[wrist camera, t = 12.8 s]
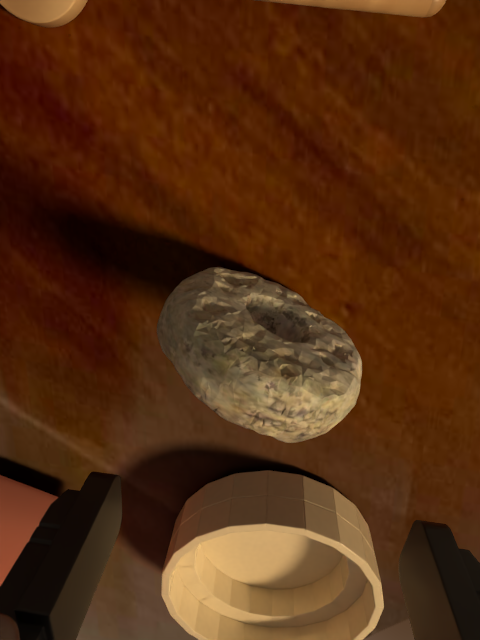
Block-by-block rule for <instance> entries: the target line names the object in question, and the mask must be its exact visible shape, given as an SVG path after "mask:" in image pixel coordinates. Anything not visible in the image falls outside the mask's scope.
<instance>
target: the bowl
mask: <svg viewBox="0 0 480 640" xmlns="http://www.w3.org/2000/svg"><path fill="white" fill-rule="evenodd" d="M161 595H162V598H163V600H164V602H165V604H166V606H167V608H168V611H169V613H170V615H171V616H172V617H173V618H174V619H175V620H176V621H177V622H178V623H179V624H180V625H181V626H182V627H183V628H184V629H185V630H186V631H187V632H188V633H189V634H190V635H192V636H194V637H195V638H197V639H199V640H363V639H364V638H365V637H366V636H367V635H368V634H369V633H370V632H371V631H372V630H374V629H375V627H376V625H377V623H378V620H379V618H380V615H381V613H382V611H383V608H384V602H383V594H382V585H381V580H380V576H379V571H378V567H377V562H376V558H375V553H374V549H373V544H372V540H371V535H370V530H369V526H368V525H367V523H366V521H365V520H364V518H363V517H362V515H361V513H360V512H359V510H358V509H357V507H356V505H354V504H353V503H352V502H351V501H349V500H348V499H347V498H345V497H344V496H343V495H342V494H340V493H339V492H338V491H336V490H335V489H334V488H332V487H330V486H328V485H325V484H323V483H320V482H318V481H315V480H313V479H310V478H308V477H305V476H303V475H299V474H292V473H285V472H278V471H270V470H265V471H255V472H244V473H236V474H232V475H229V476H227V477H224V478H221V479H219V480H216V481H213V482H211V483H208V484H206V485H205V486H204V487H202V488H201V489H200V490H199V491H197V492H196V493H195V494H194V495H192V496H191V497H190V498H189V499H187V501H186V502H185V504H184V506H183V508H182V510H181V511H180V513H179V515H178V517H177V519H176V522H175V525H174V529H173V533H172V537H171V541H170V545H169V548H168V552H167V556H166V560H165V564H164V567H163V571H162V586H161Z"/></svg>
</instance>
